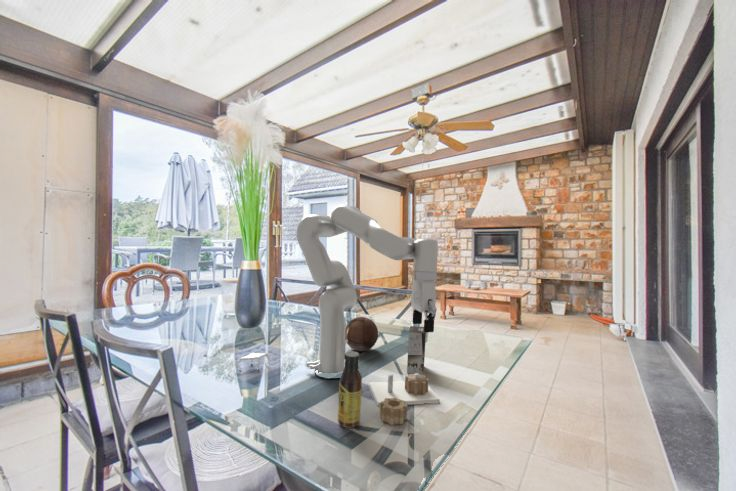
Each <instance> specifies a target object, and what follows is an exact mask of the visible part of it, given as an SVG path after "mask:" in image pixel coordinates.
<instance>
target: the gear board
mask: <svg viewBox="0 0 736 491" xmlns="http://www.w3.org/2000/svg"><path fill="white" fill-rule="evenodd" d="M387 376H388V377H387V381H372V382H370V381H369V382H368V386H369V390H370V391H371V394H372V396H373V398H374V401H375V403H376V405H377V407H380V405H381V401H382V402H383V401H384V400H385V398H397V399H400V400H404V401H405V405H407V406H408V405H410V406H411V405H425V404H424V403H429V404H439V403H440V397H438V395H437V394H436V393H435V392H434V391H433V389H432V388H431V387H430V385H429V378H427V376H426V375H424V374H423V375H420V374H418V373H415V374H412V373H407V375H405V377H404V380H394V375H393V374H388V375H387Z"/></svg>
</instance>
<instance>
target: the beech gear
mask: <svg viewBox="0 0 736 491" xmlns="http://www.w3.org/2000/svg"><path fill="white" fill-rule="evenodd" d="M379 408H380V409H379V417H380V418H381V422H383V423H384V422H385V423H388V424H389V425H390V426H394V425H403V424H404V421H407V420H408V419H407V417H408V405H405V401H404V400H400V399H397V398H385V400H384V401H383V402H382V401H381V405H380V406H379Z"/></svg>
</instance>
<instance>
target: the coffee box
mask: <svg viewBox="0 0 736 491" xmlns="http://www.w3.org/2000/svg"><path fill="white" fill-rule="evenodd" d="M408 330H409V331H408V341H407V342H408V343H407V345H408V346H407V359H406V360H407V362H406V363H407V364H406V374H415V373H418V374H420V375H423V376H424V368H425V359H426V358H425V355H426V337H427V336H426V335H427V334H426V333H427V332H424V326H417V325H416V326H413V325H412V326H410V327H409V329H408Z"/></svg>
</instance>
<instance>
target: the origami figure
mask: <svg viewBox="0 0 736 491" xmlns="http://www.w3.org/2000/svg"><path fill="white" fill-rule="evenodd" d="M264 357H266V358H267V360H268V362H267V363H265V364H264V365H265V366H266V365H267V364H270V363H271V362H272V360H271V357H270V356H269V353H267V352H266V353H265V352H262V353H261V352H251V353H249V354H247V355H245V356H243V357H240V358H239V360H238V361H237V362H236V363H235V364H234V366H235V367H237V368H238V369H239V370H240V369H241V370H243V368H242V367H241V366H239V364H241V362H243V361H250V365H251V364H252V365H253V364H254V362H253V361H254V360H257V361H258V364H257V367H256V369H257V368H259V369H260V366H261V364H262V362H261V358H264Z"/></svg>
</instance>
